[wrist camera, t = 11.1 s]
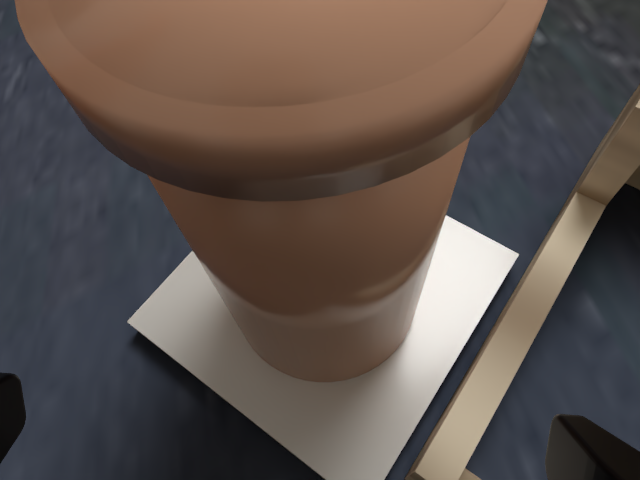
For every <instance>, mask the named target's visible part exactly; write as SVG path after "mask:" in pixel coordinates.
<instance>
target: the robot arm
mask: <svg viewBox="0 0 640 480" xmlns="http://www.w3.org/2000/svg"><path fill="white" fill-rule="evenodd" d="M25 420H26V412H25V405H24V399H23V393H22V387H21V381H20V379H19V377H18V376H17V375H15V374H11V373H0V463H1V462H2V460H3V459H4V457H5V456H6V454H7V453H8V451H9V450H10V448H11V446H12V445H13V443H14V442H15V440H16V439H17V437H18V436H19V434H20V433H21V431H22V429H23V427H24V424H25ZM545 465H546V473H547V477H548V480H640V452H639V451H638V450H636V449H635V448H633V447H631V446H630V445H628V444H627V443H625V442H623V441H622V440H620V439H619V438H617V437H615V436H614V435H612V434H611V433H609V432H607V431H606V430H604V429H603V428H601V427H599V426H598V425H596V424H595V423H593V422H592V421H590V420H588V419H587V418H585V417H583V416H579V415H566V414H557V415H556V416H554V418H553V420H552V423H551V428H550V434H549V440H548V446H547V452H546V459H545Z"/></svg>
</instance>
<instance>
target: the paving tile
mask: <svg viewBox="0 0 640 480" xmlns="http://www.w3.org/2000/svg"><path fill="white" fill-rule="evenodd" d="M518 255H519V254H517V253H516V252H514V251H512V250H510V249H508V248H506V247H504V246H502V245H501V244H499V243H497V242H495V241H493V240H491V239H489V238H488V237H486V236H484V235H482V234H480V233H478V232H476V231H474V230H473V229H471V228H469V227H467V226H465V225H463V224H461V223H459V222H458V221H456V220H454V219H452V218H450V217H448V216H445V219H444V222H443V225H442V229H441V232H440V235H439V238H438V241H437V245H436V248H435V251H434V254H433V257H432V261H431V264H430V267H429V270H428V274H427V277H426V280H425V283H424V286H423V290H422V293H421V296H420V299H419V302H418V306H417V309H416V312H415V315H414V318H413V321H412V324H411V327H410V329H409V331H408V333H407V335H406V337H405V339H404V340H403V342H402V343H401V344H400V346H399V347H398V349H397V350H396V351H395V352H394V353H393V354H392V355H391V356H390V357H389V358H388V359H387V360H385V361H384V362H383V363H382V364H380V365H379V366H377V367H376V368H374V369H372V370H371V371H369V372H367V373H365V374H362V375H360V376H358V377H355V378H351V379H347V380H343V381H336V382H313V381H305V380H302V379H298V378H294V377H292V376H289V375H287V374H284V373H282V372H280V371H279V370H277V369H275V368H274V367H272V366H270V365H269V364H268V363H267V362H265V361H264V360H263V359H262V358H261V357H260V356H259V355H258V354H257V353H256V352H255V351H254V350H253V348H252V347H251V346H250V344H249V343H248V341H247V340H246V338H245V337H244V335H243V333H242V332H241V330H240V328H239V327H238V325H237V323H236V322H235V320H234V318H233V317H232V315H231V313H230V312H229V310H228V308H227V307H226V305H225V303H224V302H223V300H222V298H221V297H220V295H219V293H218V292H217V290H216V288H215V287H214V285H213V283H212V282H211V280H210V278H209V277H208V275H207V273H206V272H205V270H204V268H203V267H202V265H201V263H200V262H199V260H198V258H197V257H196V255H195V253H194V252H193V251H192V252H191V253H190V254H189V255H188V256H187V257H186V258H185V259H184V260H183V261H182V263H181V264H180V265H179V266H178V267H177V268H176V269H175V270H174V271H173V272H172V273H171V274H170V276H169V277H168V278H167V279H166V280H165V281H164V282H163V283H162V284H161V285H160V286H159V287H158V289H157V290H156V291H155V292H154V293H153V294H152V295H151V296H150V297H149V298H148V299H147V301H146V302H145V303H144V304H143V305H142V306H141V307H140V308H139V309H138V310H137V311H136V312H135V314H134V315H133V316H132V317H131V318H130V319H129V320H128V321H127V322H128V323H129V324H130V325H131V326H133V327H134V328H135V329H136V330H137V331H138V332H140V333H141V334H142V335H143V336H145V337H146V338H147V339H148V340H150V341H151V342H152V343H154V344H155V345H156V346H157V347H159V348H160V349H161V350H162V351H164V352H165V353H166V354H167V355H169V356H170V357H171V358H172V359H174V360H175V361H176V362H177V363H179V364H180V365H181V366H183V367H184V368H185V369H186V370H188V371H189V372H190V373H191V374H193V375H194V376H195V377H196V378H198V379H199V380H200V381H201V382H203V383H204V384H205V385H206V386H208V387H209V388H210V389H211V390H213V391H214V392H215V393H217V394H218V395H219V396H220V397H222V398H223V399H224V400H225V401H227V402H228V403H229V404H230V405H232V406H233V407H234V408H235V409H237V410H238V411H239V412H240V413H242V414H243V415H244V416H246V417H247V418H248V419H249V420H251V421H252V422H253V423H254V424H256V425H257V426H258V427H259V428H261V429H262V430H263V431H264V432H266V433H267V434H268V435H269V436H271V437H272V438H273V439H275V440H276V441H277V442H278V443H280V444H281V445H282V446H283V447H285V448H286V449H287V450H288V451H290V452H291V453H292V454H293V455H295V456H296V457H297V458H298V459H300V460H301V461H302V462H304V463H305V464H306V465H307V466H309V467H310V468H311V469H312V470H314V471H315V472H316V473H317V474H319V475H320V476H321V477H322V478H324V479H325V480H384V479H385V478H386V476H387V474H388V473H389V471H390V469H391V468H392V466H393V464H394V463H395V461H396V459H397V458H398V456H399V454H400V453H401V451H402V449H403V448H404V446H405V444H406V443H407V441H408V439H409V437H410V436H411V434H412V432H413V431H414V429H415V427H416V426H417V424H418V422H419V421H420V419H421V417H422V416H423V414H424V412H425V411H426V409H427V407H428V406H429V404H430V402H431V401H432V399H433V397H434V396H435V394H436V392H437V391H438V389H439V387H440V386H441V384H442V382H443V381H444V379H445V377H446V376H447V374H448V372H449V371H450V369H451V367H452V366H453V364H454V362H455V361H456V359H457V357H458V356H459V354H460V352H461V351H462V349H463V347H464V346H465V344H466V342H467V341H468V339H469V337H470V336H471V334H472V332H473V331H474V329H475V327H476V326H477V324H478V322H479V321H480V319H481V317H482V316H483V314H484V312H485V311H486V309H487V307H488V306H489V304H490V302H491V300H492V299H493V297H494V295H495V294H496V292H497V290H498V289H499V287H500V285H501V284H502V282H503V280H504V279H505V277H506V275H507V274H508V272H509V270H510V269H511V267H512V265H513V264H514V262H515V260H516V259H517V257H518Z"/></svg>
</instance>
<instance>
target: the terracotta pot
mask: <svg viewBox="0 0 640 480" xmlns="http://www.w3.org/2000/svg"><path fill="white" fill-rule="evenodd" d="M546 3H547V0H15V4H16V11H17V17H18V21H19V23H20V26H21V28H22V31H23V33H24V36H25V38H26V41H27V42H28V44H29V45H30V47H31V48H32V49H33V51H34V52H35V54H36V55H37V57H38V58H39V60H40V61H41V63H42V64H43V65H44V67H45V68H46V70H47V71H48V73H49V74H50V76H51V77H52V79H53V80H54V82H55V83H56V84H57V86H58V87H59V89H60V90H61V92H62V93H63V95H64V96H65V98H66V99H67V100H68V102H69V103H70V105H71V106H72V108H73V109H74V111H75V112H76V114H77V115H78V116H79V118H80V119H81V121H82V122H83V124H84V125H85V127H86V128H87V130H88V131H89V132H90V133H91V134H92V135H93V136H94V137H95V138H96V139H97V140H98V141H99V142H100V143H101V144H102V145H103V146H104V147H105V148H106V149H107V150H108V151H110V152H111V153H113V154H114V155H115V156H117V157H118V158H120V159H121V160H122V161H124V162H125V163H127V164H128V165H129V166H131V167H133V168H135V169H137V170H139V171H141V172H143V173H145V174H147V175H148V177H149V179H150V180H151V182H152V184H153V185H154V187H155V189H156V190H157V192H158V194H159V195H160V197H161V199H162V200H163V202H164V204H165V205H166V207H167V209H168V210H169V212H170V214H171V215H172V217H173V219H174V220H175V222H176V224H177V225H178V227H179V229H180V230H181V232H182V234H183V235H184V237H185V239H186V240H187V242H188V244H189V245H190V247H191V249H192V250H193V252H194V253H195V255H196V257H197V258H198V260H199V262H200V263H201V265H202V267H203V268H204V270H205V272H206V273H207V275H208V277H209V278H210V280H211V282H212V283H213V285H214V287H215V288H216V290H217V292H218V293H219V295H220V297H221V298H222V300H223V302H224V303H225V305H226V307H227V308H228V310H229V312H230V313H231V315H232V317H233V318H234V320H235V322H236V323H237V325H238V327H239V328H240V330H241V332H242V333H243V335H244V337H245V338H246V340H247V341H248V343H249V344H250V346H251V347H252V348H253V350H254V351H255V352H256V353H257V354H258V355H259V356H260V357H261V358H262V359H263V360H264V361H265V362H267V363H268V364H269V365H270V366H272V367H274V368H275V369H277V370H279V371H280V372H282V373H284V374H287V375H289V376H292V377H294V378H298V379H302V380H305V381H313V382H336V381H343V380H347V379H351V378H355V377H358V376H360V375H362V374H365V373H367V372H369V371H371V370H372V369H374V368H376V367H377V366H379V365H380V364H382V363H383V362H384V361H385V360H387V359H388V358H389V357H390V356H391V355H392V354H393V353H394V352H395V351H396V350H397V349H398V347H399V346H400V344H401V343H402V342H403V340H404V339H405V337H406V335H407V333H408V331H409V329H410V327H411V324H412V321H413V318H414V315H415V312H416V309H417V306H418V302H419V299H420V296H421V293H422V290H423V286H424V283H425V280H426V277H427V274H428V270H429V267H430V264H431V261H432V257H433V254H434V251H435V248H436V245H437V241H438V238H439V235H440V232H441V229H442V225H443V222H444V219H445V216H446V213H447V209H448V206H449V203H450V200H451V197H452V193H453V190H454V187H455V184H456V180H457V177H458V174H459V171H460V168H461V164H462V161H463V158H464V155H465V152H466V148H467V145H468V142H469V139H470V136H471V135H472V134H473V133H474V132H476V131H477V130H478V129H479V128H480V127H481V126H482V125H483V124H484V123H485V122H486V121H487V120H489V119H490V117H491V116H492V115H493V114H494V112H495V111H496V110H497V109H498V107H499V106H500V105H501V104H502V102H503V101H504V100H505V99H506V97H507V96H508V94H509V92H510V90H511V89H512V87H513V85H514V83H515V81H516V80H517V78H518V76H519V74H520V71H521V69H522V66H523V63H524V61H525V58H526V56H527V53H528V50H529V48H530V45H531V42H532V40H533V37H534V34H535V32H536V29H537V27H538V24H539V21H540V19H541V16H542V13H543V11H544V8H545V5H546Z"/></svg>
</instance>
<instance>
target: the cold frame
mask: <svg viewBox="0 0 640 480" xmlns="http://www.w3.org/2000/svg"><path fill="white" fill-rule="evenodd" d="M624 183H626V184H628V185H630V186H632V187H635V188H637V189H639V190H640V84H639V86H638V87H637V89H636V90H635V92H634V93H633V95H632V96H631V98H630V99H629V101H628V102H627V104H626V105H625V107H624V108H623V110H622V111H621V113H620V114H619V116H618V117H617V119H616V120H615V122H614V123H613V125H612V126H611V128H610V129H609V131H608V132H607V134H606V135H605V137H604V138H603V140H602V141H601V143H600V144H599V146H598V148H597V149H596V151H595V153H594V154H593V156H592V158H591V160H590V161H589V163H588V165H587V166H586V168H585V170H584V172H583V173H582V175H581V177H580V178H579V180H578V182H577V184H576V185H575V187H574V189H573V190H572V192H571V194H570V196H569V197H568V199H567V201H566V202H565V204H564V206H563V208H562V209H561V211H560V213H559V214H558V216H557V218H556V220H555V221H554V223H553V225H552V226H551V228H550V230H549V232H548V233H547V235H546V237H545V238H544V240H543V242H542V244H541V245H540V247H539V249H538V250H537V252H536V254H535V256H534V257H533V259H532V261H531V263H530V264H529V266H528V268H527V269H526V271H525V273H524V275H523V276H522V278H521V280H520V281H519V283H518V285H517V287H516V288H515V290H514V292H513V293H512V295H511V297H510V299H509V300H508V302H507V304H506V305H505V307H504V309H503V311H502V312H501V314H500V316H499V317H498V319H497V321H496V323H495V324H494V326H493V328H492V329H491V331H490V333H489V335H488V336H487V338H486V340H485V341H484V343H483V345H482V347H481V348H480V350H479V352H478V353H477V355H476V357H475V359H474V360H473V362H472V364H471V365H470V367H469V369H468V371H467V372H466V374H465V376H464V377H463V379H462V381H461V383H460V384H459V386H458V388H457V389H456V391H455V393H454V395H453V396H452V398H451V400H450V401H449V403H448V405H447V407H446V408H445V410H444V412H443V414H442V415H441V417H440V419H439V420H438V422H437V424H436V426H435V427H434V429H433V431H432V432H431V434H430V436H429V438H428V439H427V441H426V443H425V444H424V446H423V448H422V450H421V451H420V453H419V455H418V456H417V458H416V460H415V462H414V463H413V465H412V467H411V468H410V470H409V472H408V474H407V475H406V477H405V480H481V479H480V478H478V477H477V476H475V475H474V474H473V473H471V472H470V471H468V470H467V469H466V468H465V467H466V465H467V463H468V461H469V459H470V457H471V456H472V454H473V452H474V450H475V448H476V446H477V444H478V443H479V441H480V439H481V437H482V435H483V433H484V431H485V430H486V428H487V426H488V424H489V422H490V420H491V418H492V417H493V415H494V413H495V411H496V409H497V407H498V405H499V404H500V402H501V400H502V398H503V396H504V394H505V392H506V391H507V389H508V387H509V385H510V383H511V381H512V379H513V378H514V376H515V374H516V372H517V370H518V368H519V367H520V365H521V363H522V361H523V359H524V357H525V355H526V354H527V352H528V350H529V348H530V346H531V344H532V342H533V341H534V339H535V337H536V335H537V333H538V331H539V329H540V328H541V326H542V324H543V322H544V320H545V318H546V316H547V315H548V313H549V311H550V309H551V307H552V305H553V303H554V302H555V300H556V298H557V296H558V294H559V292H560V290H561V289H562V287H563V285H564V283H565V281H566V279H567V277H568V276H569V274H570V272H571V270H572V268H573V266H574V265H575V263H576V261H577V259H578V257H579V255H580V253H581V252H582V250H583V248H584V246H585V244H586V242H587V240H588V239H589V237H590V235H591V233H592V231H593V229H594V227H595V226H596V224H597V222H598V220H599V218H600V216H601V214H602V213H603V211H604V209H605V207H606V205H607V204H608V203H609V202H610V200H611V199H612V198H613V197H614V196H615V194H616V193H617V192H618V191H619V189H620V188H621V187H622V186H623V185H624Z"/></svg>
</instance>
